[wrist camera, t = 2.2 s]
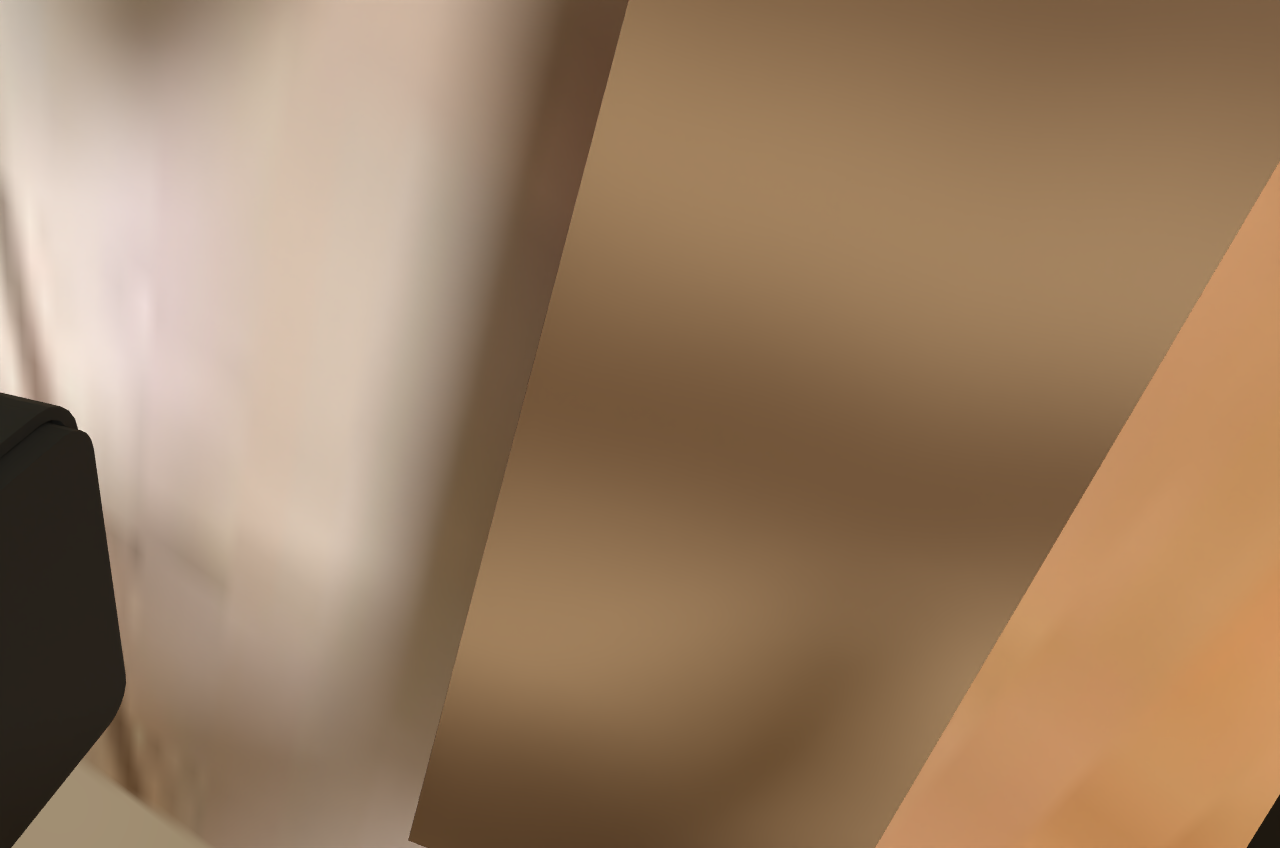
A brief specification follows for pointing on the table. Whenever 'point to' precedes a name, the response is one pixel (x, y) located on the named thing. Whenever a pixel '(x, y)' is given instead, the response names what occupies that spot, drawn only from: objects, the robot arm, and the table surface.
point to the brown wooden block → (827, 396)
